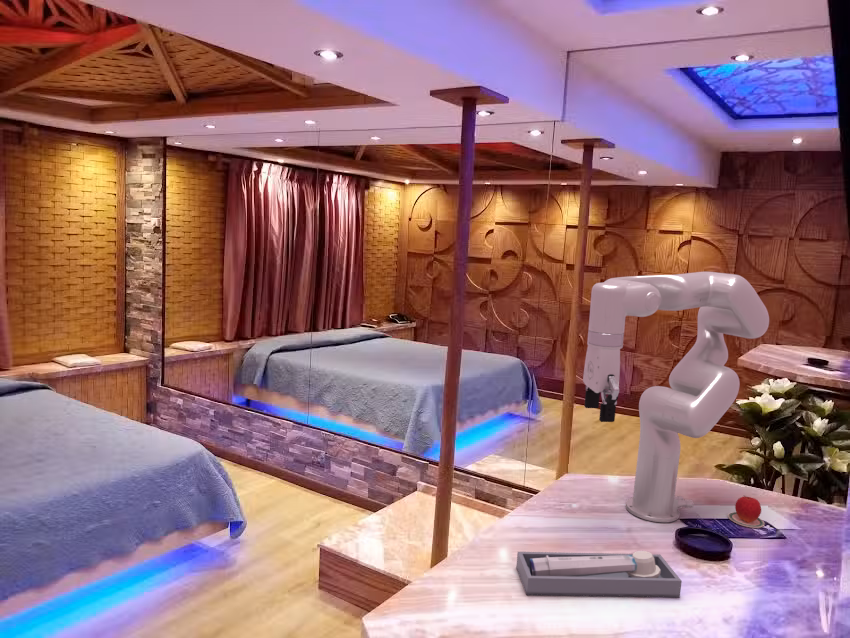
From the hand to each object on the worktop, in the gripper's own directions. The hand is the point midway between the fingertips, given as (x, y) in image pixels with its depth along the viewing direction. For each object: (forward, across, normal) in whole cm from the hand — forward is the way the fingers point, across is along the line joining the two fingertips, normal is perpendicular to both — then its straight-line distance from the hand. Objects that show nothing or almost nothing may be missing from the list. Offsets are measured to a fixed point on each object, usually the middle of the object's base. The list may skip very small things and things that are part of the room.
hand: (598, 414), depth 143 cm
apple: (+29, -6, +42) cm, 51 cm away
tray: (+27, +22, -6) cm, 35 cm away
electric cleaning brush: (+27, +22, -7) cm, 36 cm away
